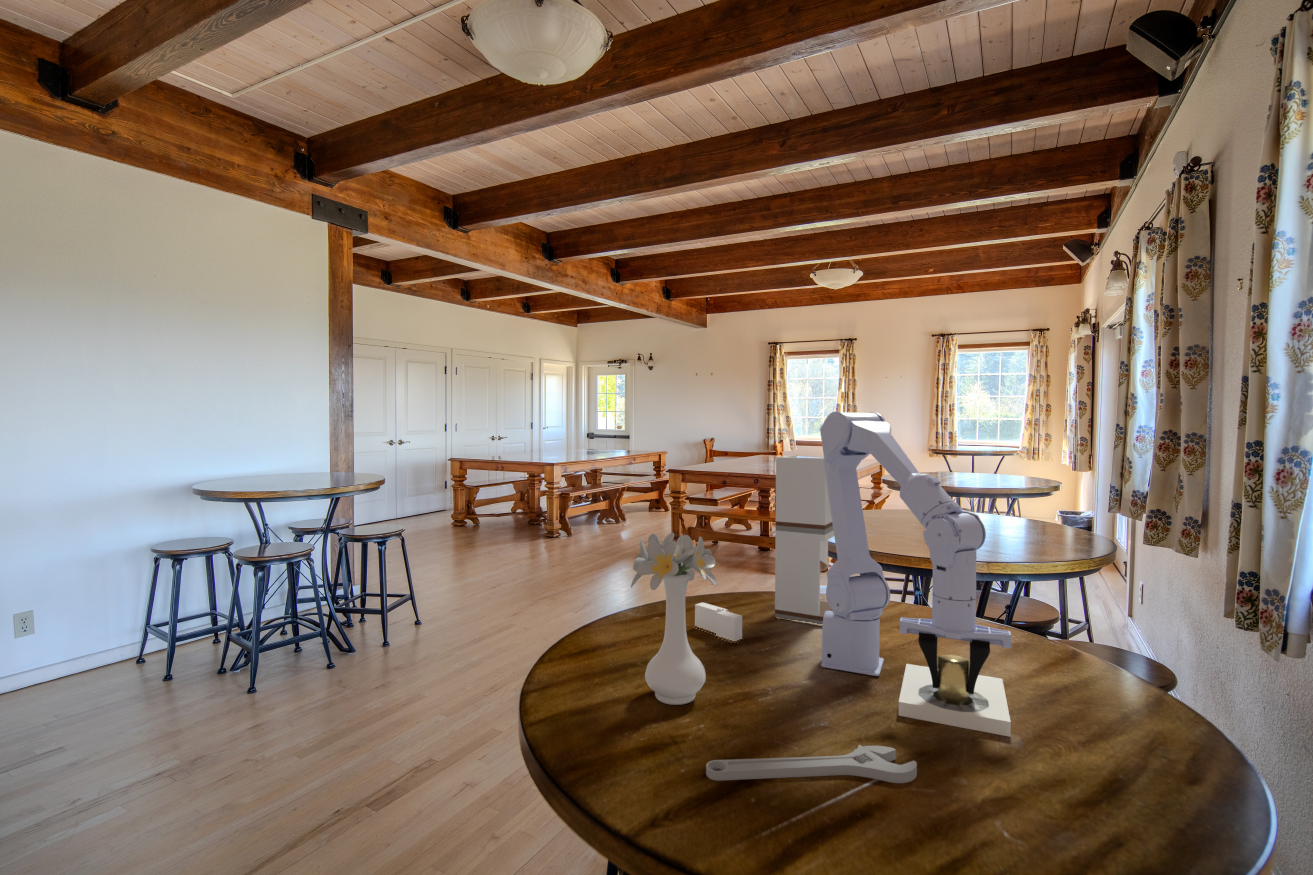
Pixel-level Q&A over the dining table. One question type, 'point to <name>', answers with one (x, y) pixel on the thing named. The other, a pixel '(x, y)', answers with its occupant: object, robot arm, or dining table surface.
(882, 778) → the adjustable wrench
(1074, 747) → the dining table surface
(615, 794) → the dining table surface
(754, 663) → the dining table surface
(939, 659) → the brass cylinder
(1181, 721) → the dining table surface
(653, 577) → the flower vase
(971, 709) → the board
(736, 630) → the napkin holder
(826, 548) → the white stacked column
